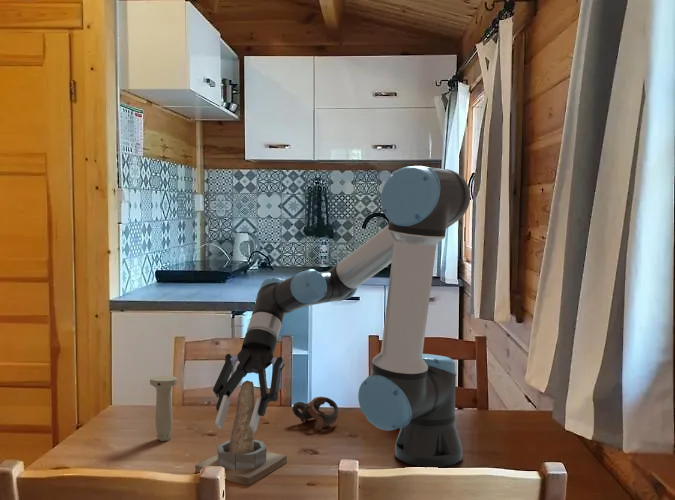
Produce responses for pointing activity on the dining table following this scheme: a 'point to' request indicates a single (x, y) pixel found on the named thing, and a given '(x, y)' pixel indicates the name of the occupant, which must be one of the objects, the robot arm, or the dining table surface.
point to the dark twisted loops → (316, 412)
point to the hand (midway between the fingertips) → (235, 427)
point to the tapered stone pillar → (243, 421)
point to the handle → (163, 405)
